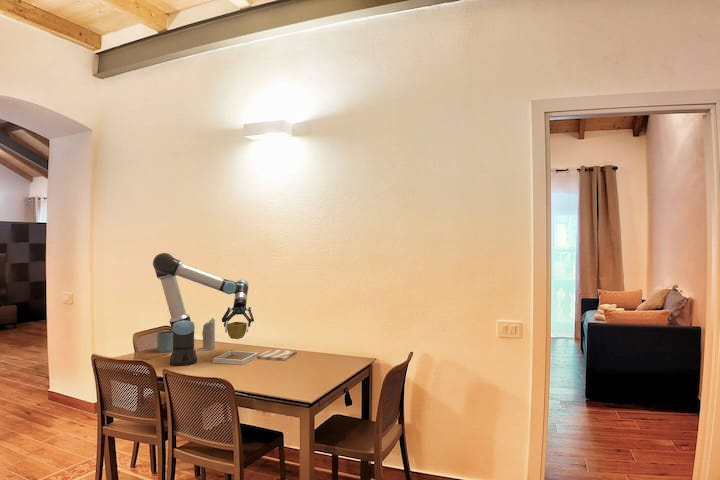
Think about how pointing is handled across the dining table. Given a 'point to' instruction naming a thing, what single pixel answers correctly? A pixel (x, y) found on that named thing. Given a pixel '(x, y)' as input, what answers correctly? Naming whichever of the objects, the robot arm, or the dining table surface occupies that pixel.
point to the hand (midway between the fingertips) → (236, 331)
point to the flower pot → (236, 329)
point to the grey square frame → (233, 361)
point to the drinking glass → (165, 341)
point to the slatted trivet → (277, 355)
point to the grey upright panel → (208, 336)
